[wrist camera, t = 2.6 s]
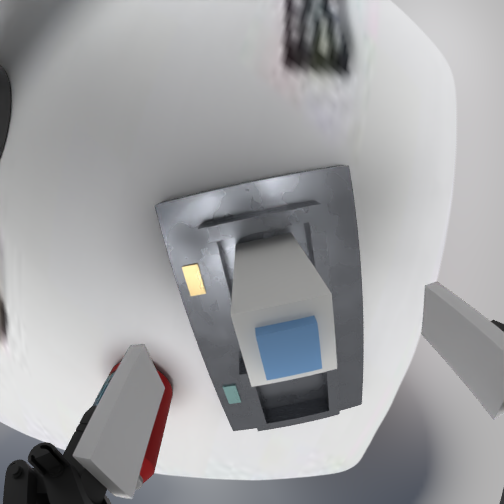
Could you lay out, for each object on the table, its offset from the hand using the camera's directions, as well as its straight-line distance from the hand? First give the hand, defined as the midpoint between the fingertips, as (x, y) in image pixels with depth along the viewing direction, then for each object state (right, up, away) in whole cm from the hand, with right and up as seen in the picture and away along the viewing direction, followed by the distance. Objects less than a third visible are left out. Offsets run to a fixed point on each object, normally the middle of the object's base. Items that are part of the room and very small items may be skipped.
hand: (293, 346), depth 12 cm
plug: (-1, +3, +9) cm, 10 cm away
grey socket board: (+1, -2, +12) cm, 12 cm away
